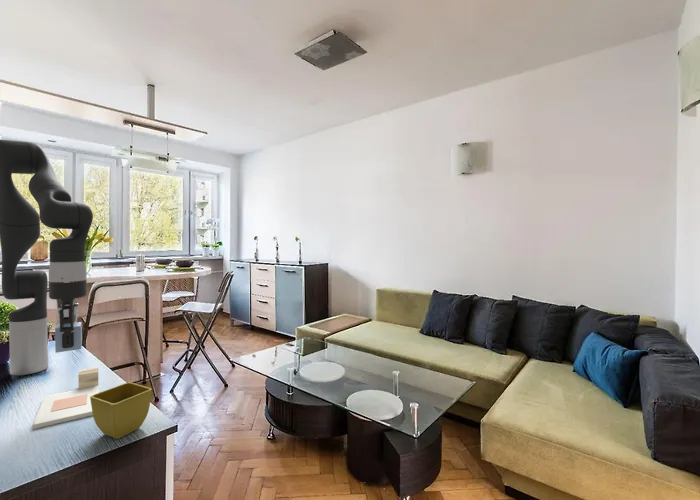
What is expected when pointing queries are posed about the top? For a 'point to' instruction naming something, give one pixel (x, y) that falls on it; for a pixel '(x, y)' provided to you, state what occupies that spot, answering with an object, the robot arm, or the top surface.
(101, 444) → the top surface
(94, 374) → the maple block
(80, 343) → the slate block
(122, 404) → the flower pot
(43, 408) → the board
